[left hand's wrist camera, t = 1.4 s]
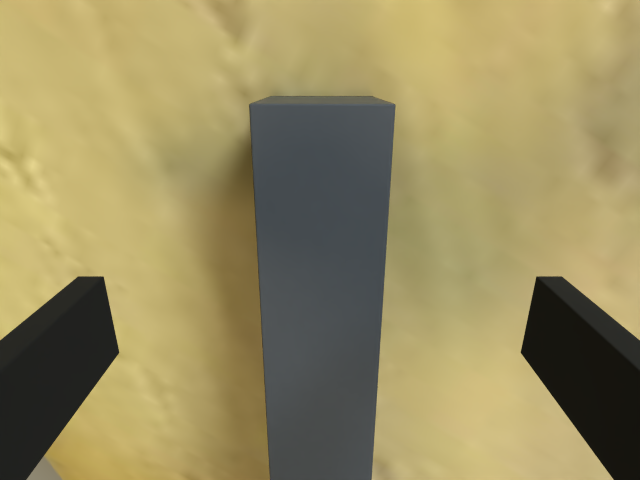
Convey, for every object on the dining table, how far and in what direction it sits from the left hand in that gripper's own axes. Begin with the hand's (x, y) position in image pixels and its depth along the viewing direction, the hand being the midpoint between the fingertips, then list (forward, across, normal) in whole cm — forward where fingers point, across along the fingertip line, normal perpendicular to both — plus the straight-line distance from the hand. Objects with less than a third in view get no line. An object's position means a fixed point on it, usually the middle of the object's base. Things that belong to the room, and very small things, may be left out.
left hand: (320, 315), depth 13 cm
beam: (+14, 0, -24) cm, 28 cm away
